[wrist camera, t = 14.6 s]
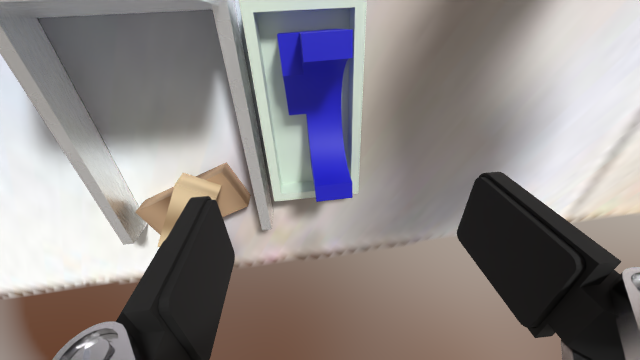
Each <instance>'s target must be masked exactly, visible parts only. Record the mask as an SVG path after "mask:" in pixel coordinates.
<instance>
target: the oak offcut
mask: <svg viewBox="0 0 640 360" xmlns="http://www.w3.org/2000/svg"><path fill="white" fill-rule="evenodd" d="M220 188H221V185H219V184H216V183H213V182H210V181H207V180H204V179H201V178H198V177H195V176H192V175H189V174H186V173H182V175H181V176H180V178H179V179H178V181H177V182H176V184H175V186H174V189H173V193H172V197H171V200H170V204H169V207H168V211H167V215H166V218H165V222H164V225H163V229H162V233H161V236H160V240H159V243H158V247H160V246H161V244H162V243H163V242H164V240H165V239H166V238H167V237H168V235H169V233H170V232H171V230H172V228H173V226H174V225H175V223H176V221H177V220H178V218H179V216H180V214H181V213H182V211H183V209H184V208H185V206H186V204H187V203H188V201H189V199H190V198H192V197H202V196H209V197H210V198H211V199H212V200H216V198H217V196H218V193H219V191H220Z"/></svg>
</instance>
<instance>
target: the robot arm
mask: <svg viewBox="0 0 640 360" xmlns="http://www.w3.org/2000/svg"><path fill="white" fill-rule="evenodd" d="M457 236H458V239H459V241H460V242H461V244H462V245H463V246H464V248H465V249H466V250H467V252H468V253H469V254H470V256H471V257H472V258H473V260H474V261H475V262H476V264H477V265H478V267H479V268H480V269H481V271H482V272H483V273H484V275H485V276H486V277H487V279H488V280H489V281H490V283H491V284H492V286H493V287H494V288H495V290H496V291H497V292H498V294H499V295H500V296H501V298H502V299H503V300H504V302H505V303H506V305H507V306H508V307H509V309H510V310H511V311H512V313H513V314H514V315H515V317H516V318H517V320H518V321H519V322H520V323H521V324H522V325H523V326H525V327H527V328H528V329H529V331H530V332H531V333H532V335H533V336H534V337H535V338H538V337H548V336H552V335H553V334H554V333H555V332H556V333H557V335H558V336H559V337H560V338H561V347H562V360H640V268H638V267H633V268H627V269H625V270H624V271H623V272H622V273H621V274H619V273H617V272H616V271H615V270H614V269H615V268H616V267H617V266H618V265H619V264H620V263H621V261H620V260H619V259H617V258H616V257H615V256H613V255H612V254H611V253H609V252H608V251H607V250H605V249H604V248H603V247H601V246H600V245H598V244H597V243H596V242H595V241H593V240H592V239H591V238H589V237H588V236H587V235H585V234H584V233H582V232H581V231H580V230H578V229H577V228H576V227H575V226H573V225H572V224H571V223H569V222H568V221H566V220H565V219H564V218H562V217H561V216H560V215H558V214H557V213H556V212H554V211H553V210H552V209H550V208H549V207H548V206H546V205H545V204H544V203H542V202H541V201H540V200H538V199H537V198H536V197H534V196H533V195H532V194H530V193H529V192H528V191H526V190H525V189H524V188H522V187H521V186H520V185H518V184H517V183H516V182H514V181H513V180H512V179H510V178H509V177H508V176H506V175H505V174H503V173H501V172H491V173H483V174H481V175H480V176H479V178H477V179H476V180H475V182H474V185H473V188H472V190H471V193H470V196H469V199H468V202H467V205H466V207H465V210H464V213H463V216H462V219H461V222H460V224H459V227H458V230H457ZM234 259H235V255H234V250H233V247H232V244H231V241H230V238H229V235H228V233H227V230H226V227H225V224H224V221H223V218H222V215H221V212H220V209H219V206H218V203H217V201H216V200H212V199H211V198H210V197H209V196H202V197H192V198H190V199H189V201H188V203H187V204H186V206H185V208H184V209H183V211H182V213H181V214H180V216H179V218H178V220H177V221H176V223H175V225H174V226H173V228H172V230H171V232H170V233H169V235H168V237H167V238H166V239H165V240H164V242H163V243H162V244H161V246H160V248H159V250H158V251H157V253H156V255H155V256H154V258H153V260H152V261H151V263H150V265H149V266H148V268H147V270H146V271H145V273H144V275H143V277H142V278H141V280H140V282H139V283H138V285H137V287H136V289H135V290H134V292H133V294H132V295H131V297H130V299H129V300H128V302H127V304H126V305H125V307H124V309H123V310H122V312H121V314H120V316H119V317H118V319H117V321H116V322H104V323H100V324H97V325H94V326H92V327H90V328H88V329H86V330H84V331H83V332H81V333H80V334H78V335H77V336H75V337H74V338H73V339H71V340H70V341H69V342H68V343H67V344H66V345H65V346H64V347H63V348H62V349H61V350H60V351H59V352H58V353H57V354H56V356H55V357H54V359H53V360H209V359H210V356H211V352H212V348H213V344H214V340H215V336H216V332H217V328H218V324H219V320H220V316H221V312H222V308H223V304H224V300H225V296H226V292H227V288H228V284H229V280H230V276H231V272H232V268H233V264H234Z"/></svg>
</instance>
